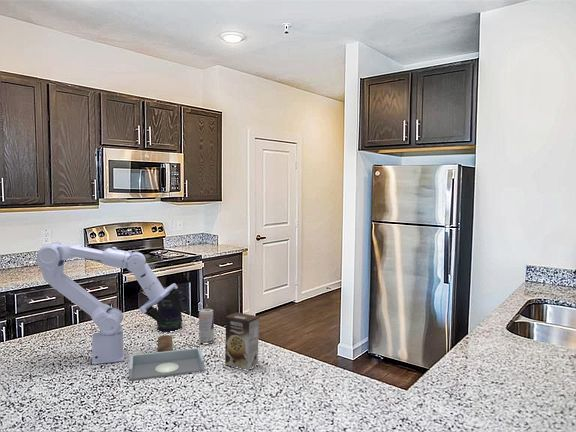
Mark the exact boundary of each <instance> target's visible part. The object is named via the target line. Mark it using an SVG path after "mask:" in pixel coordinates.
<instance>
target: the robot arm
mask: <svg viewBox="0 0 576 432" xmlns="http://www.w3.org/2000/svg"><path fill="white" fill-rule="evenodd" d="M36 253H37V255H36V264H37V266H39V268H40V269H39V270H40V272H41V275H42V277H43V279H44V282H46V284H48V285H49V286H51V287H52V288H53V289H54V290H55V291H58V292H59V293H60V294H61V295H62V296H64V297H65V298H66V299H68V300H69V301H71V302H72V303H73V304H74V305H75V306H77V307H78V308H79V309H81V310H82V311H83V312H84V313H86V314H87V315H89V316H90V317H91V320H92V322H93V323H94V324H95V325H96V326H97V327H98V330H99V331H98V332H95V333H93V334H92V337H91V338H92V339H91V340H92V341H91V365H98V364H107V363H108V364H109V363H115V362H117V363H119V362H124V361H125V354H126V351H125V350H124V328H123V327H122V325H121V324H122V322H123V320H124V314H123V312H122V311H121V310H120V309H118V308H114V307H112V306H110V305H109V304H106V303H103V302H102V301H100V299H97V298H96V297H95V296H93V294H91V293H90V292H89V291H87V290H86V289H85V288H83V287H82V286H81V285H80V284H78V283H77V282H76V281H74V280H73V279H72V278H70V277H69V276H68V275H67V274H65V273H64V263H65V261H66V260H69V259H71V258H82V259H86V260H94V261H100V262H101V263H102V264H103V265H104V266H107V267H112V268H113V267H114V268H118V269H127V270H128V271H129V272H131V273H132V274H133V275H134V277H135V279H136V281H137V282H138V284H139V285H140V287H141V289H142V290H143V292H144V293H145V295H146V296H147V298H148V301H146V302H145V303H144V304H143V305H141V306H140V307H139V308H138V310H139V311H140V312H141V314H145V315H147V316H149V317H150V318H152V319H153V320H154V321H155V322H156V323H157V322H158V323H159V324H160V325H161V326H163V325H165V323H164V321H163V319H162V318H161V316H160V315H159V313H158V307H154V306H155V305H157V303H158V302H159V301H160V300H162V299H163V298H164V297H166V296H167V297H168V298H169V300H170V301H171V302H172V303H173V305H174V306H175V308H176V310H177V311H178V312H180V311H181V312H182V311H183V309H182V306H181V305H180V301H179V291H178V290H179V289H178V288H179V287H178V285H177V284H176V283H172V284H170V285H169V286H167V287H166V288H164V286H163V285H162V283H161V282H160V280H159V278H158V277H157V275H156V274H155V272H154V271H153V269H152V268H151V267H150V265H149V263H148V262H146V261H147V260H146V257H145V255H144V254H143V253H142V252H139V251H133V252H132V250H128V251H126V250H123V249H122V250H121V249H118V247H115V246H112V248H111V247H108V248H107V249H104V250H101V249H97V248H92V247H87V246H83V245H78V244H73V243H69V242H68V243H66V242H63V243H61V242H58V241H57V242H52V243H50V244H48V245H43V246H42V247H40V249H39V250H38V251H37V252H36Z"/></svg>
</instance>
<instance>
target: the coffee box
mask: <svg viewBox="0 0 576 432" xmlns="http://www.w3.org/2000/svg"><path fill="white" fill-rule="evenodd" d="M259 330H260V316H258V315H254V314H253V315H252V314H247V313H241V312H235V313H231V314H229V315H226V316H225V344H224V345H225V350H224V351H225V353H224V354H225V359H224V360H225V361H224V365H225V366H226V365H229V366H233V367H238V368H241V369H246V370H249V369H250V368H252V367H253V366H255V365H256V364H258V365H259V333H260V332H259ZM229 366H228V367H229ZM233 367H232V368H233ZM255 367H256V366H255ZM241 369H240V370H241ZM252 369H253V368H252ZM249 371H250V370H249Z"/></svg>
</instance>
